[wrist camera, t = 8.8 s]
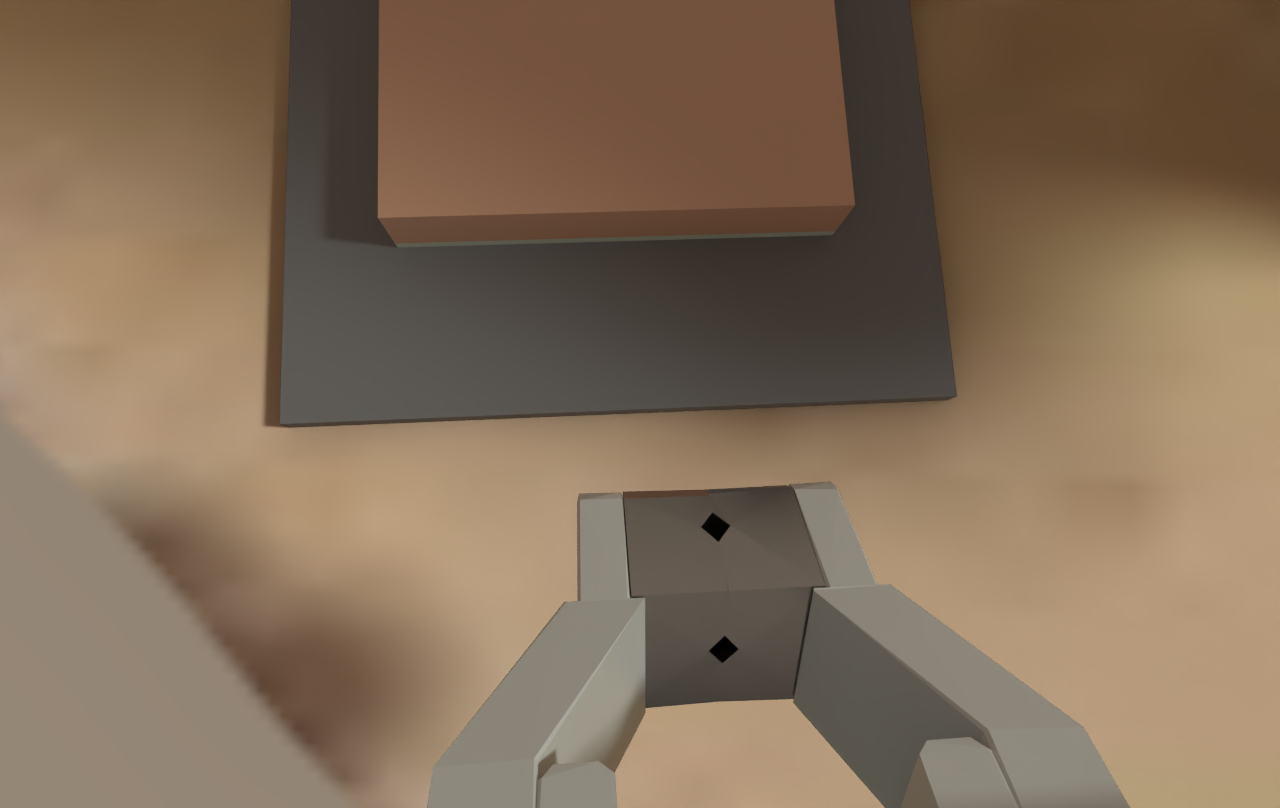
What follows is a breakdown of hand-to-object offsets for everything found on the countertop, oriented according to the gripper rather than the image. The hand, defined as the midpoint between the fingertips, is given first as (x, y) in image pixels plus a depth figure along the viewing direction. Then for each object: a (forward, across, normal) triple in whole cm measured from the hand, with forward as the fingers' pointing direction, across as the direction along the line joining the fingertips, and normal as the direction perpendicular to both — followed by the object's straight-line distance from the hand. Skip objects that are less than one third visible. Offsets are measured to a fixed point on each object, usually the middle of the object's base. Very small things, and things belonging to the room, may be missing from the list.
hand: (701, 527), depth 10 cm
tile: (+13, 0, +2) cm, 13 cm away
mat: (+18, 0, -1) cm, 18 cm away
